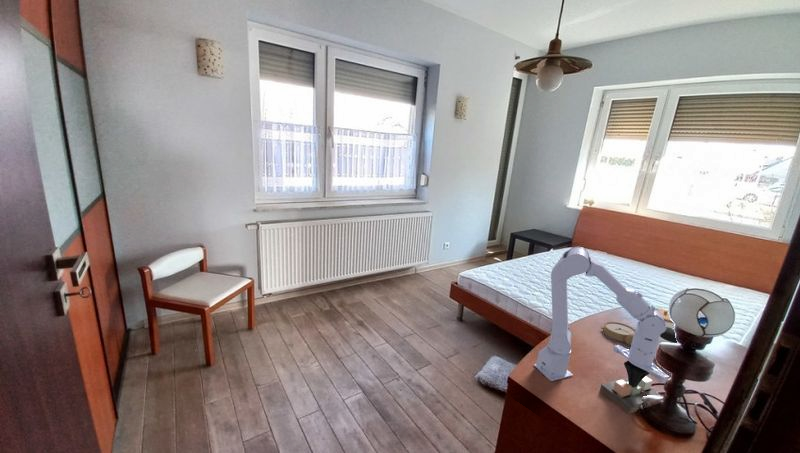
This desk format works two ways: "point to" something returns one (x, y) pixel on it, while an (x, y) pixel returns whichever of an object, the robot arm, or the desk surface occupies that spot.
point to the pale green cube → (635, 390)
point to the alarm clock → (619, 332)
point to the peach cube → (622, 388)
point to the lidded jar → (666, 318)
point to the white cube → (645, 383)
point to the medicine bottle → (667, 336)
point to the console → (626, 402)
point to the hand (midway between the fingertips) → (632, 385)
